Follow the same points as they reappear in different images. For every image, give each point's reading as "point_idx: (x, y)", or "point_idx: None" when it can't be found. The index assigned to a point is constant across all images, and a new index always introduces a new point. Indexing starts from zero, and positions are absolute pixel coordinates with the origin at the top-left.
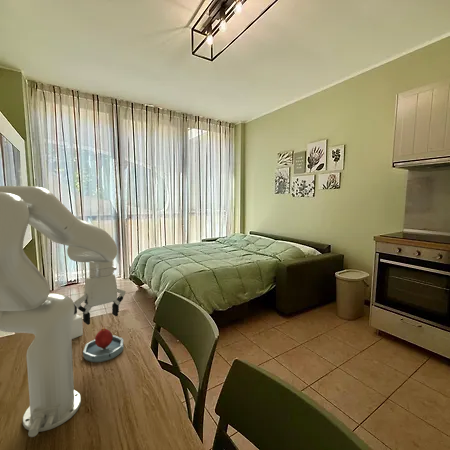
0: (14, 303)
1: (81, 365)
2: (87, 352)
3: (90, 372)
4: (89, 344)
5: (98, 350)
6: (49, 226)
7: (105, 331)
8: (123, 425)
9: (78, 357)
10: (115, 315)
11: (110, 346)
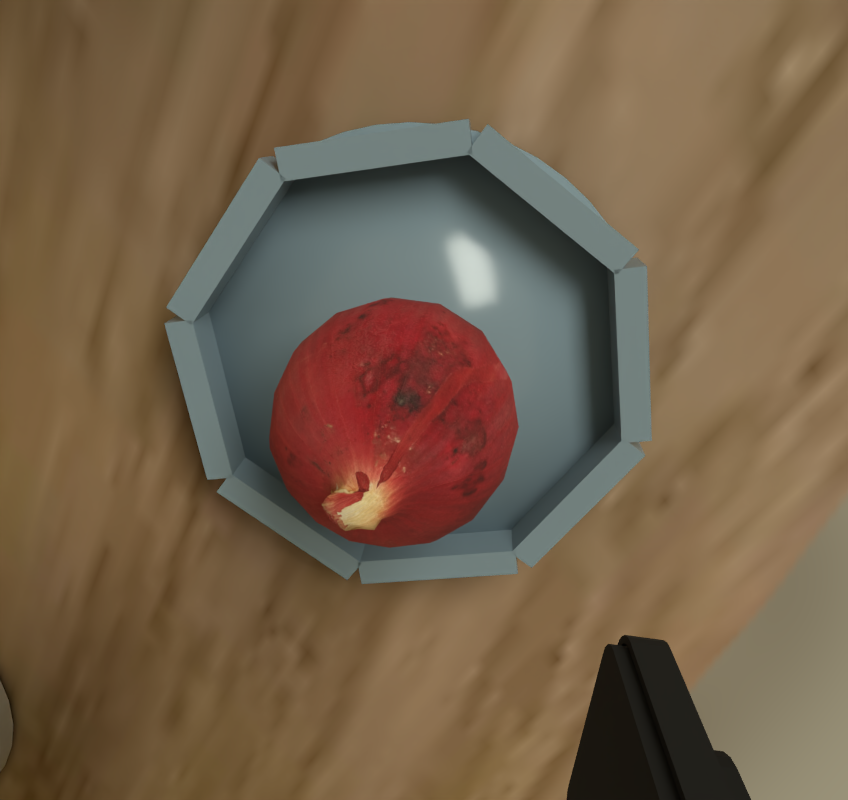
0: None
1: (139, 399)
2: (199, 364)
3: (163, 553)
4: (306, 177)
5: None
6: None
7: (382, 526)
8: None
9: (163, 235)
10: (572, 797)
11: None
